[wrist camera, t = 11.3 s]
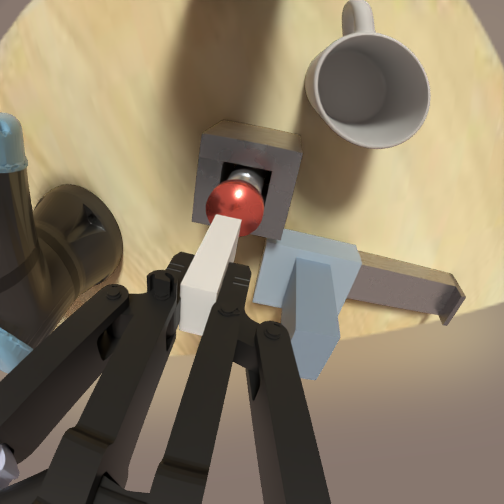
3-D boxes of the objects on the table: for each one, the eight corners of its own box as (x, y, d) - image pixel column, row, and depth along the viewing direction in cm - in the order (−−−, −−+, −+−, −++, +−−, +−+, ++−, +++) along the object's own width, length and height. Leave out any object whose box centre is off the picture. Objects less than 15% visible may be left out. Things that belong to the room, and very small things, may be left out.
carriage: (256, 281, 38) (239, 373, 26) (269, 224, 34) (256, 311, 22) (333, 297, 38) (343, 389, 26) (356, 244, 34) (381, 334, 22)
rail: (259, 265, 38) (255, 290, 34) (268, 230, 36) (264, 253, 32) (435, 301, 38) (446, 325, 34) (452, 274, 36) (465, 297, 32)
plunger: (226, 187, 30) (202, 230, 22) (232, 148, 28) (209, 178, 20) (266, 195, 30) (257, 242, 22) (275, 157, 28) (268, 190, 20)
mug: (387, 128, 28) (430, 154, 19) (307, 126, 29) (315, 150, 20) (383, 18, 22) (425, -5, 12) (298, 14, 23) (301, -18, 14)
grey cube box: (212, 189, 34) (191, 221, 27) (222, 119, 30) (201, 133, 23) (283, 204, 34) (280, 240, 27) (300, 135, 30) (302, 153, 23)
